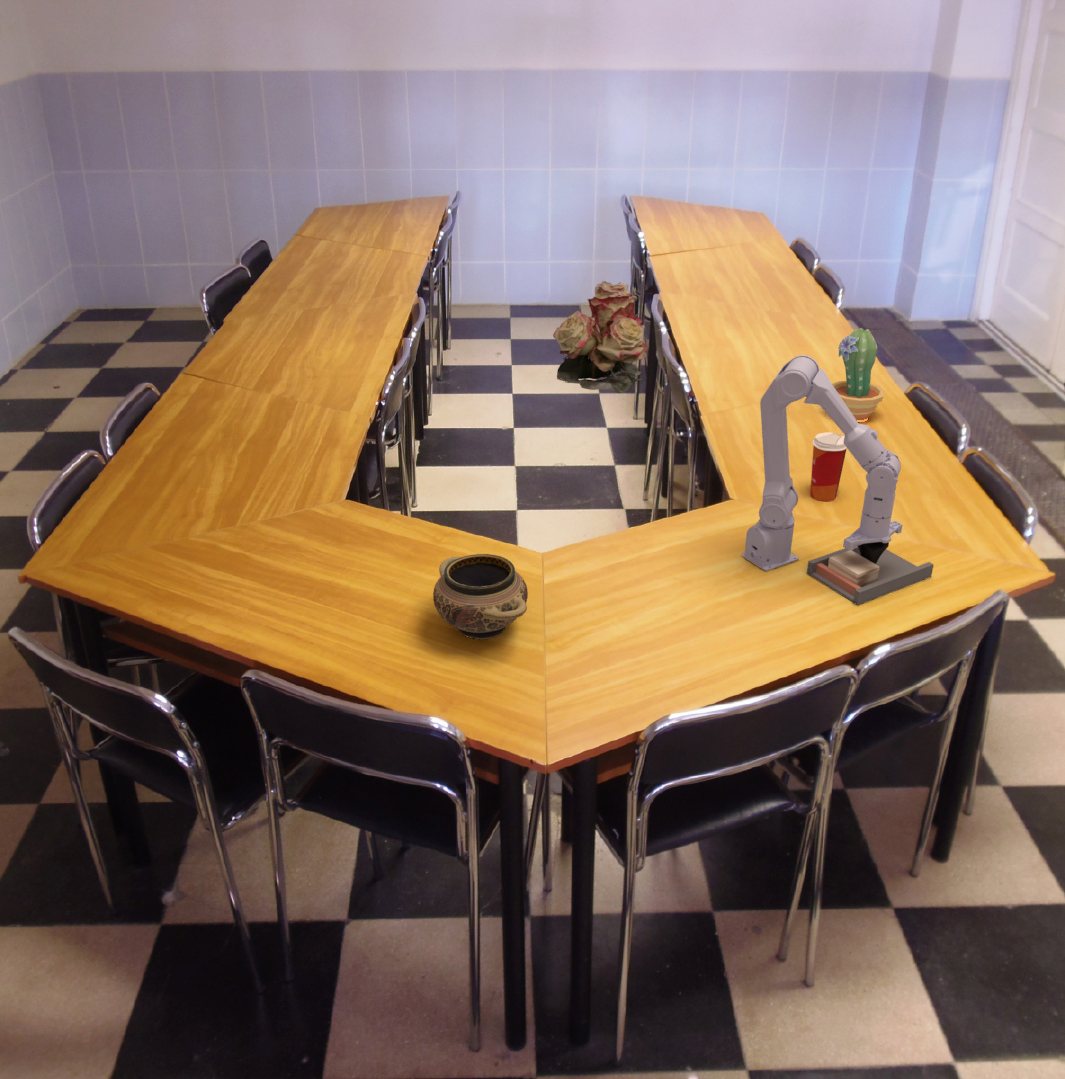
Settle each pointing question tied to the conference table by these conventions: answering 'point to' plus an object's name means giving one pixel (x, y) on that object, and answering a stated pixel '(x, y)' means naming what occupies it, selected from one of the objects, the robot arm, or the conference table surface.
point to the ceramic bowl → (480, 594)
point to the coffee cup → (827, 465)
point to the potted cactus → (859, 374)
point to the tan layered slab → (854, 568)
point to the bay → (890, 579)
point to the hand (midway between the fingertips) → (867, 570)
